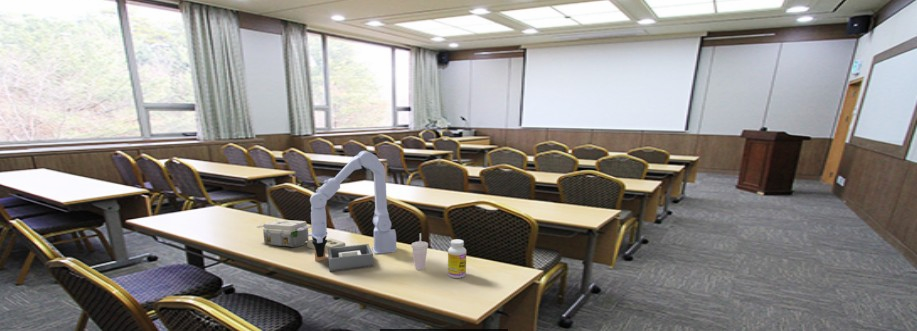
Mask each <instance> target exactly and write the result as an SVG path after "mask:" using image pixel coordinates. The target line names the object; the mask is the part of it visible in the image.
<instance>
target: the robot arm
mask: <svg viewBox="0 0 917 331" xmlns="http://www.w3.org/2000/svg"><path fill="white" fill-rule="evenodd" d="M363 167H364V168H366V169H368V170H370V171H371V172H372V173H373V188H374V205H375V206H374V207H375V208H374V215H373V218H372V223H373V225H374V228H373V246H372V247H371V251H372V253H373V255H379V254H386V253H387V254H388V253H395V252H397V233H396V229H391V228H392V221H391V220H390V215H389V214H390V213H389V212H388V204H387V203H388V199H387V179H386V178H387V176H386V167H385V166H384V164H383V163H382V162H381V160H380V159H379V157H378V156H377V155H376V154H374V153H372V152H370V151H367V150H361V151H360V152H358V154H357V155H354V157H352V158H351V159H350V160H349V162H347V164H345V166H344V167H343V168H342V169H341V170H339V172H338V173H337V174H336V175H335V177H332V178H328V179H325V180H324V181H323V184H322V185H321V186H320V187H319V188H317V189H316V190H315V192H314V193H312V194H311V196H310V198H309V203H310V205H311V207H310V210H311V212H310V220H311V221H310V222H311V227H310V228H311V232H308V235H309V237H311V238H312V239H313V240H312V239H311V240H312V243H313V245H314V247H315V249H316V254H317V257H323V255H324V248H325V245H326V243H327V240H325V239H327V237H328V236H327V235H328V230H327V228H328V227H327V211H326V205H327V202H328V200H330V199H331V198H332V197H333V196H334V195H335V194H336V193H337V192H338V191H339V190H340V189H341V183H342V182H343V181H344V180H345V179H347V178H348V177H349V176H350V175H351V174H352V173H353V172H354V171H357V170H360V169H361V170H362V169H363ZM315 249H314V250H315Z"/></svg>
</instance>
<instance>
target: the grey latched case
mask: <svg viewBox="0 0 917 331" xmlns="http://www.w3.org/2000/svg"><path fill="white" fill-rule="evenodd" d="M256 228H258V229H259V228H262V230H263V241H264V244H265V245H271V246H280V247H281V246H283V247H285V246H286V247H291V248H296V247H300V246H303V245H306V243H307V241H308V240H310V238H309V237H310V236H309V229H310V228H312V227H311V225H310V224H309V225H308V224H307V221H305V220H304V221H303V220H293V219H292V220H290V219H289V220H288V219H276V220H273V221H269V222H266V223H263V225H258V226H256Z"/></svg>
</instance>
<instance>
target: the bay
mask: <svg viewBox="0 0 917 331" xmlns="http://www.w3.org/2000/svg"><path fill="white" fill-rule="evenodd" d="M327 255H328V256H327V258H328V261H327V262H328V268H329V273H333V272H341V271H349V270H356V269H364V268H373V267H374V252H373V250H372V247H371V246H370V245H369V243H364V244H356V245H355V244H354V245H346V246H344V247H335V248H328V254H327Z"/></svg>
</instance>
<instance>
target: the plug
mask: <svg viewBox="0 0 917 331" xmlns="http://www.w3.org/2000/svg"><path fill="white" fill-rule="evenodd" d="M326 255H327V254H326V253H325V248H324V255H323V257H317V254H316V249H314V261H315V262H319V261H325V260H326Z"/></svg>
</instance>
